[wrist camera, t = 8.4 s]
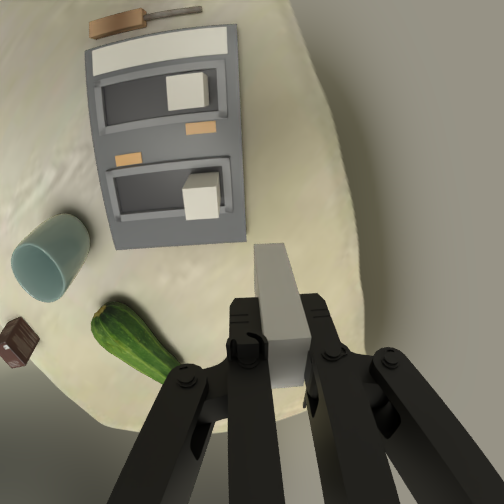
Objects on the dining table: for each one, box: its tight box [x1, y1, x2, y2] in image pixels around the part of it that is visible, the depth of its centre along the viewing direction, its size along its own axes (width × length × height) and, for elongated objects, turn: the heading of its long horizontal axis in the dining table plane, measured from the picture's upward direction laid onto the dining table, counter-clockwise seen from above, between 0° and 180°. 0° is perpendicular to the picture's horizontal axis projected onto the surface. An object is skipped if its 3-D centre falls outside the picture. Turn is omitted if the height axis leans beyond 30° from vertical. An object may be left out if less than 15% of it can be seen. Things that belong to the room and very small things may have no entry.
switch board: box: [85, 24, 247, 250], centre depth 29 cm, size 24×16×3 cm, turn 2°
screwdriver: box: [89, 6, 202, 40], centre depth 22 cm, size 12×2×2 cm, turn 92°
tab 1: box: [166, 72, 209, 111], centre depth 23 cm, size 3×3×5 cm
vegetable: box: [91, 302, 180, 384], centre depth 42 cm, size 7×7×20 cm
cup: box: [11, 213, 90, 302], centre depth 30 cm, size 8×8×10 cm
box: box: [0, 317, 40, 368], centre depth 40 cm, size 6×6×7 cm
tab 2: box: [182, 172, 221, 220], centre depth 28 cm, size 3×3×5 cm
